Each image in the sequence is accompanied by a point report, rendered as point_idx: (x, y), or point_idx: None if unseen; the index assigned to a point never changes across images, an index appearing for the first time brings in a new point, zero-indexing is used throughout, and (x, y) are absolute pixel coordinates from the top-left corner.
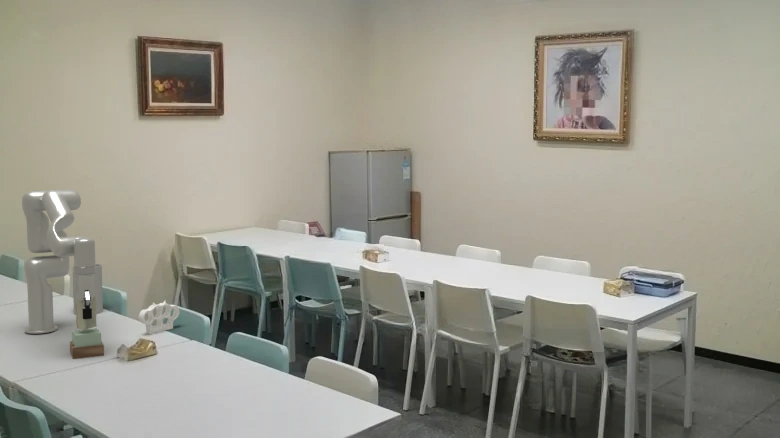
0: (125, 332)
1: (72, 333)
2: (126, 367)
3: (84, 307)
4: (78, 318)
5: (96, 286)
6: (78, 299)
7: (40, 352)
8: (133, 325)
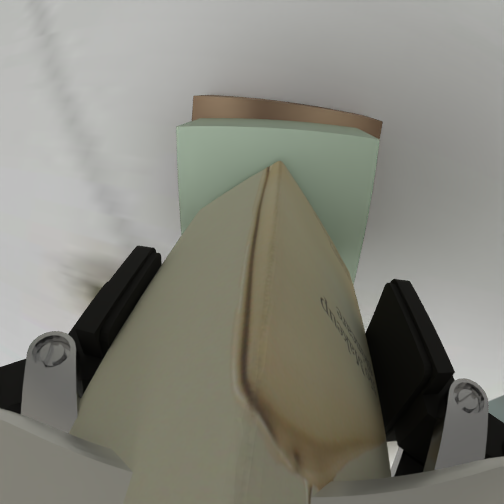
0: (482, 362)
1: (344, 133)
2: (26, 255)
3: (35, 356)
4: (240, 211)
5: None
6: (54, 480)
7: (436, 12)
8: None
